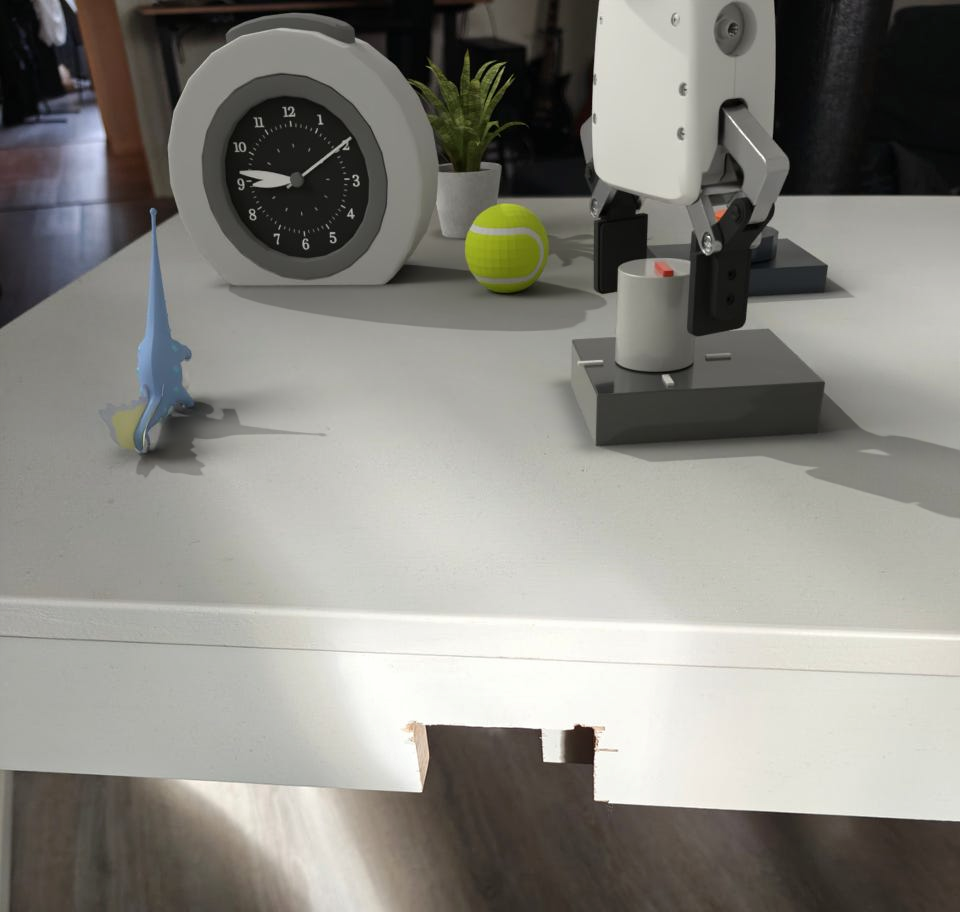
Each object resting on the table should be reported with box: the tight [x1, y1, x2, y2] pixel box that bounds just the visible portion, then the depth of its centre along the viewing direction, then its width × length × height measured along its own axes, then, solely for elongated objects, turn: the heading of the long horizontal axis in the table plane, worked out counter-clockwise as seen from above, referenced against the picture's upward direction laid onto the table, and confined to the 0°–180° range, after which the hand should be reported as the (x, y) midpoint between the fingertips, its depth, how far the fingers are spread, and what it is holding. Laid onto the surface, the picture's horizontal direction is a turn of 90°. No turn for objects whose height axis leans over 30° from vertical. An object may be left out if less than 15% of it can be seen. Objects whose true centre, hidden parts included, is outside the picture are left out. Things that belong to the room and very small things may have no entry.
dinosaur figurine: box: [98, 207, 195, 455], centre depth 58 cm, size 3×15×10 cm
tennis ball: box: [464, 203, 550, 294], centre depth 81 cm, size 7×7×7 cm
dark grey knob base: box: [570, 328, 826, 447], centre depth 58 cm, size 12×10×3 cm
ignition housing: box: [647, 225, 829, 298], centre depth 81 cm, size 12×10×4 cm
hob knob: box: [615, 258, 696, 372], centre depth 56 cm, size 4×4×5 cm
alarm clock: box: [167, 12, 440, 286], centre depth 85 cm, size 21×8×20 cm, turn 82°
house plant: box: [405, 48, 530, 239], centre depth 99 cm, size 14×14×16 cm
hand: (664, 308), depth 56 cm, fingers open, 9 cm apart
